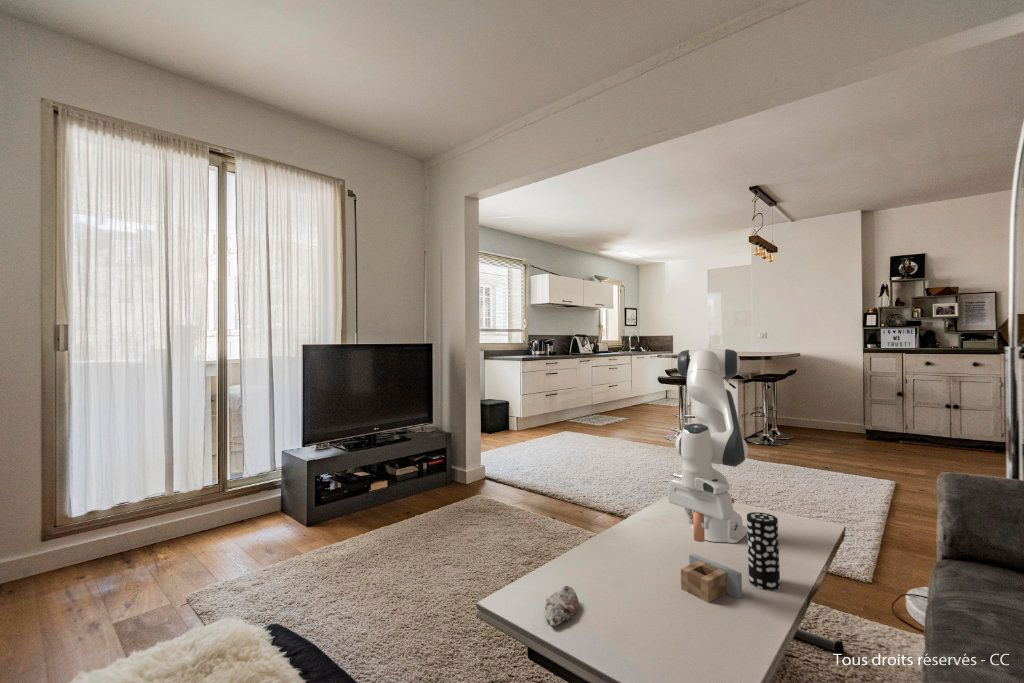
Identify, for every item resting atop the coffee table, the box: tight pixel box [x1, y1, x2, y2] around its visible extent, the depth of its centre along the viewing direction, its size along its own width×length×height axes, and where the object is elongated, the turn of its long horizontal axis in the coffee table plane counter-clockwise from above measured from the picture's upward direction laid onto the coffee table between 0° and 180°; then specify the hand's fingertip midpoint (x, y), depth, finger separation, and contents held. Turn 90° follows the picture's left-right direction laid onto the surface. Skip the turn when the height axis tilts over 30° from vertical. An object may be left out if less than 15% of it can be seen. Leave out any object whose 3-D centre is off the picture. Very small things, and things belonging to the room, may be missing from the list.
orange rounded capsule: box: [692, 511, 706, 543], centre depth 137 cm, size 3×3×10 cm
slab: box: [688, 552, 743, 599], centre depth 139 cm, size 2×16×6 cm, turn 33°
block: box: [680, 561, 728, 603], centre depth 136 cm, size 9×9×6 cm
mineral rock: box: [543, 585, 579, 626], centre depth 126 cm, size 15×8×4 cm, turn 138°
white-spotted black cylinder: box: [746, 511, 781, 591], centre depth 140 cm, size 8×8×20 cm
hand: (698, 526), depth 137 cm, fingers closed on orange rounded capsule, 3 cm apart
